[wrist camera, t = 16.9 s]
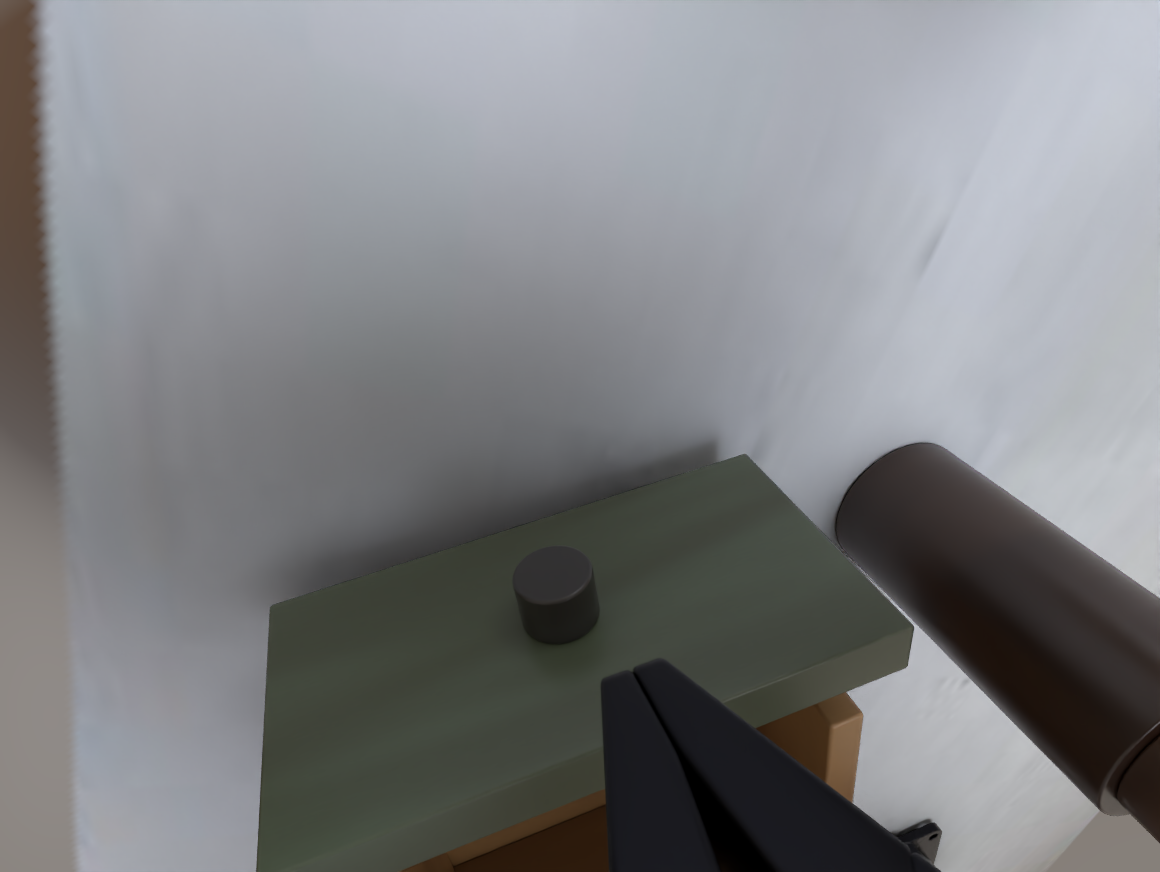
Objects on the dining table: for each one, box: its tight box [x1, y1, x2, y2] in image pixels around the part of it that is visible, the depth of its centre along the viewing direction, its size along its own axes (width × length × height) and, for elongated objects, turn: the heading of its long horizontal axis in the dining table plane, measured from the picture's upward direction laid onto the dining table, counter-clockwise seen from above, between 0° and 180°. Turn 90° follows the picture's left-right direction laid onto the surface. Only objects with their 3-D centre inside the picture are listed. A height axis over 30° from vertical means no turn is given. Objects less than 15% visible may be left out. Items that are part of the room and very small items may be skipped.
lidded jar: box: [836, 443, 1160, 843], centre depth 18 cm, size 4×4×12 cm
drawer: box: [256, 454, 914, 872], centre depth 18 cm, size 13×12×6 cm
